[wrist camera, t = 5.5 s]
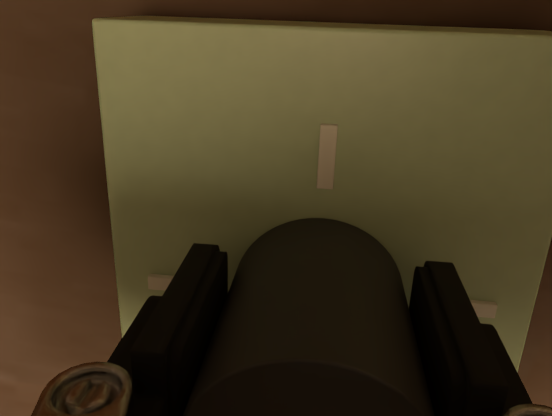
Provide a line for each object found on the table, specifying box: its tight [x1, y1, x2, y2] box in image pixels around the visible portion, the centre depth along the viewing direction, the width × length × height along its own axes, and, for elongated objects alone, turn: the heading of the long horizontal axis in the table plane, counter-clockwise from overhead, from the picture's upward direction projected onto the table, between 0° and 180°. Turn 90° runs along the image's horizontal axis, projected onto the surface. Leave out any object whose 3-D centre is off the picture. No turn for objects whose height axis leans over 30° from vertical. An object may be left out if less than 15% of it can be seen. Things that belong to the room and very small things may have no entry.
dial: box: [183, 218, 435, 416], centre depth 10 cm, size 4×4×5 cm
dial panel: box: [92, 15, 552, 372], centre depth 14 cm, size 10×12×3 cm
